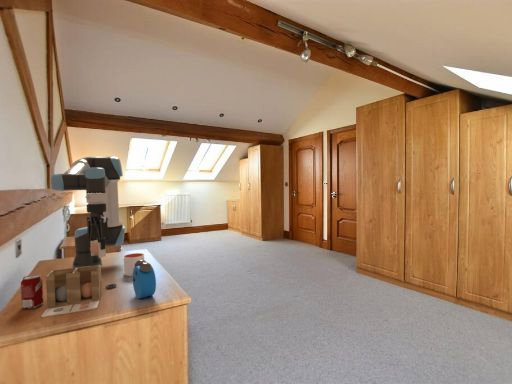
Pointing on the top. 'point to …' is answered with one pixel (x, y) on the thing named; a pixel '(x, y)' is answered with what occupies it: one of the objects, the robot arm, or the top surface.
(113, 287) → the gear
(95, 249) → the terra ball
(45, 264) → the top surface
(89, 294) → the terracotta ball
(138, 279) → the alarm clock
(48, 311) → the card
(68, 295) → the box
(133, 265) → the cup
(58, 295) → the ball grey
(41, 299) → the soda can
